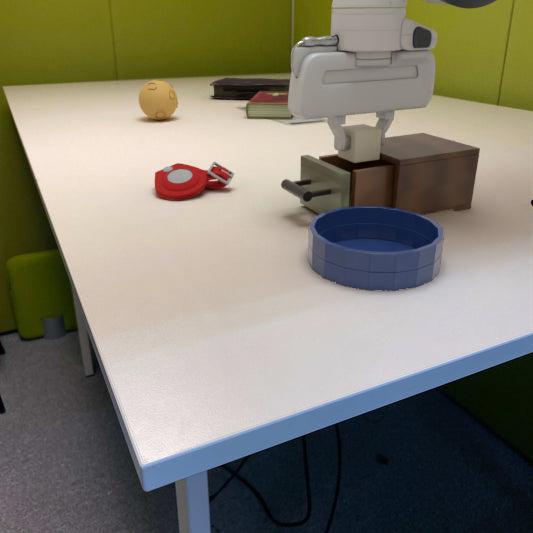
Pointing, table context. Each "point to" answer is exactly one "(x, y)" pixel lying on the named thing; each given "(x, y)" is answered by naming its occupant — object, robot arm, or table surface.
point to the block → (362, 143)
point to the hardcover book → (269, 106)
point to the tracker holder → (189, 180)
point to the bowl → (375, 247)
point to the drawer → (342, 183)
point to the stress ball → (158, 99)
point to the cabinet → (431, 172)
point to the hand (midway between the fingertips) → (359, 147)
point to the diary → (247, 87)
